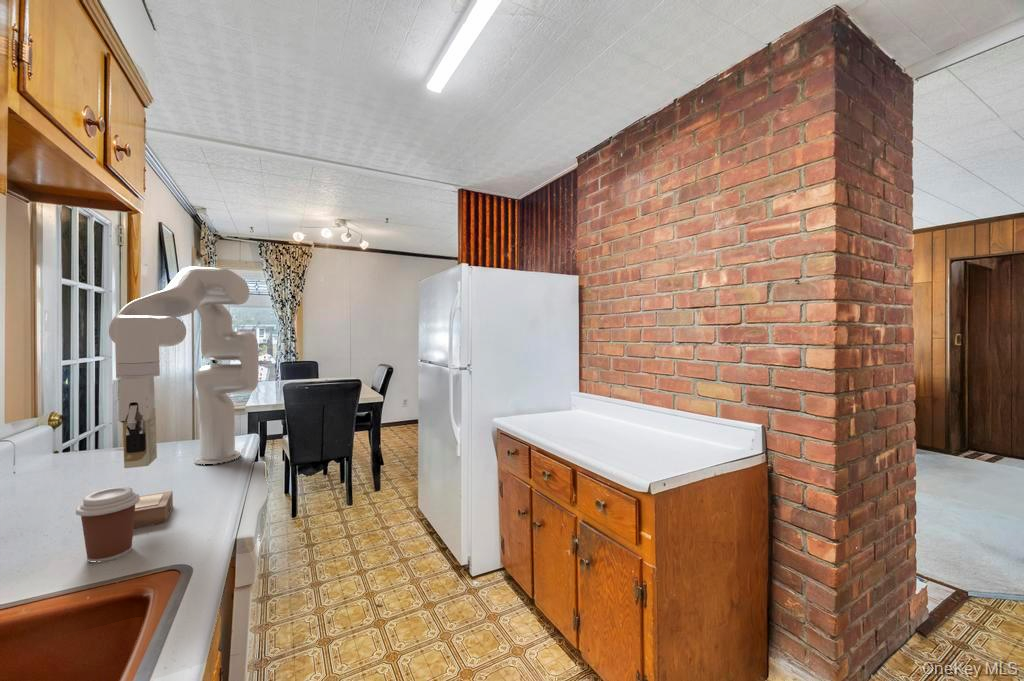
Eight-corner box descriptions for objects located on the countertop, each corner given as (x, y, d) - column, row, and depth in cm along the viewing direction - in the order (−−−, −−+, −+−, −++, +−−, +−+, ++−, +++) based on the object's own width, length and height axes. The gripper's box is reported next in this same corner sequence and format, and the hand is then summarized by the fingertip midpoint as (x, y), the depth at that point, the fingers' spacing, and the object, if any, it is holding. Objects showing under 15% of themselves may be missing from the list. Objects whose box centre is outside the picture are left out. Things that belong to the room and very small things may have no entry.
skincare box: (134, 460, 99) (132, 408, 99) (157, 458, 101) (156, 407, 101) (122, 469, 94) (121, 414, 93) (147, 466, 95) (146, 413, 95)
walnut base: (118, 515, 99) (118, 498, 99) (172, 506, 105) (172, 490, 104) (106, 533, 91) (105, 515, 91) (165, 522, 96) (165, 505, 96)
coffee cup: (132, 537, 89) (131, 481, 89) (147, 550, 84) (146, 491, 84) (71, 556, 82) (69, 495, 81) (83, 572, 77) (81, 507, 76)
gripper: (126, 367, 102) (127, 441, 103) (104, 375, 87) (106, 460, 88) (166, 366, 106) (167, 437, 106) (151, 373, 91) (153, 455, 92)
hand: (140, 447), depth 97 cm, fingers closed on skincare box, 6 cm apart
